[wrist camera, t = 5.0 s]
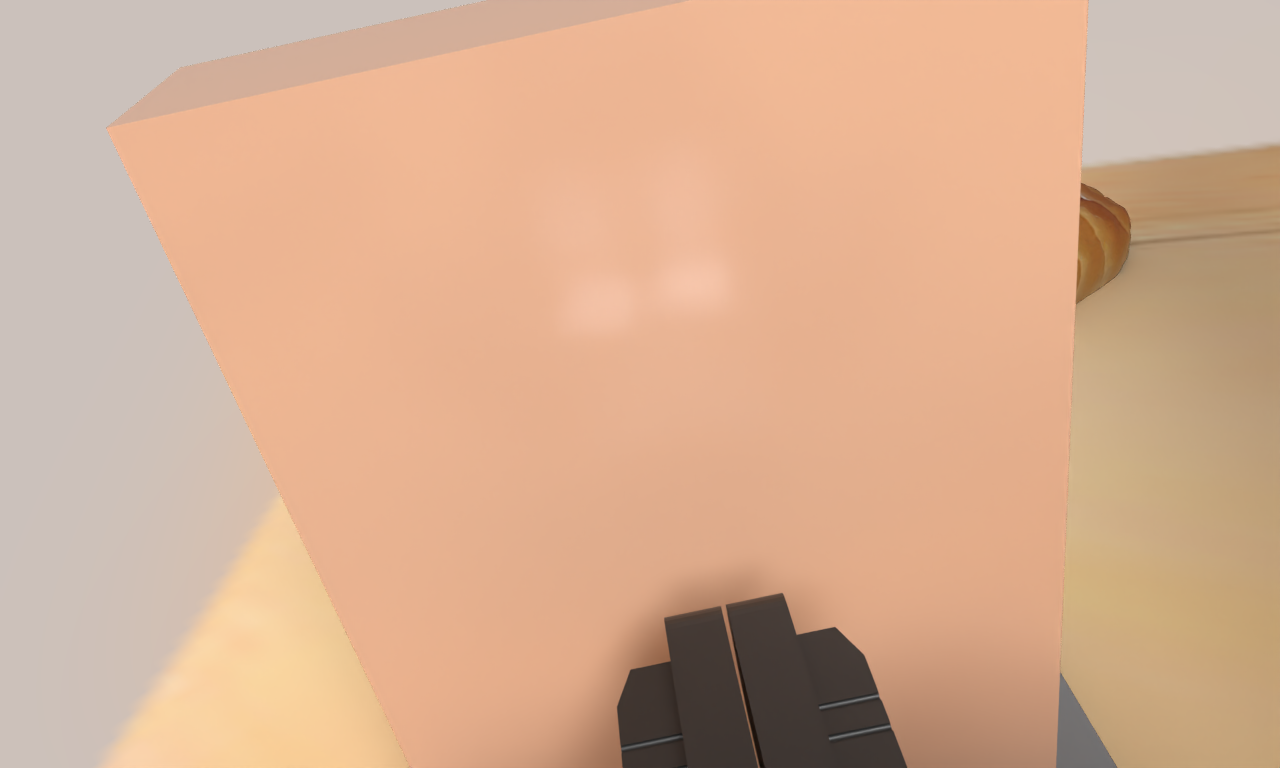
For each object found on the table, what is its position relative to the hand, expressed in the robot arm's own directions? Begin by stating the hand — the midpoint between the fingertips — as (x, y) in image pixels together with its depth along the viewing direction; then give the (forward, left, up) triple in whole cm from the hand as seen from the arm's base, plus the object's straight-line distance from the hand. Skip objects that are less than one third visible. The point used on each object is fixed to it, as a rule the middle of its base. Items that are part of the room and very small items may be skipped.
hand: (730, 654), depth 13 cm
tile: (0, -3, -7) cm, 7 cm away
